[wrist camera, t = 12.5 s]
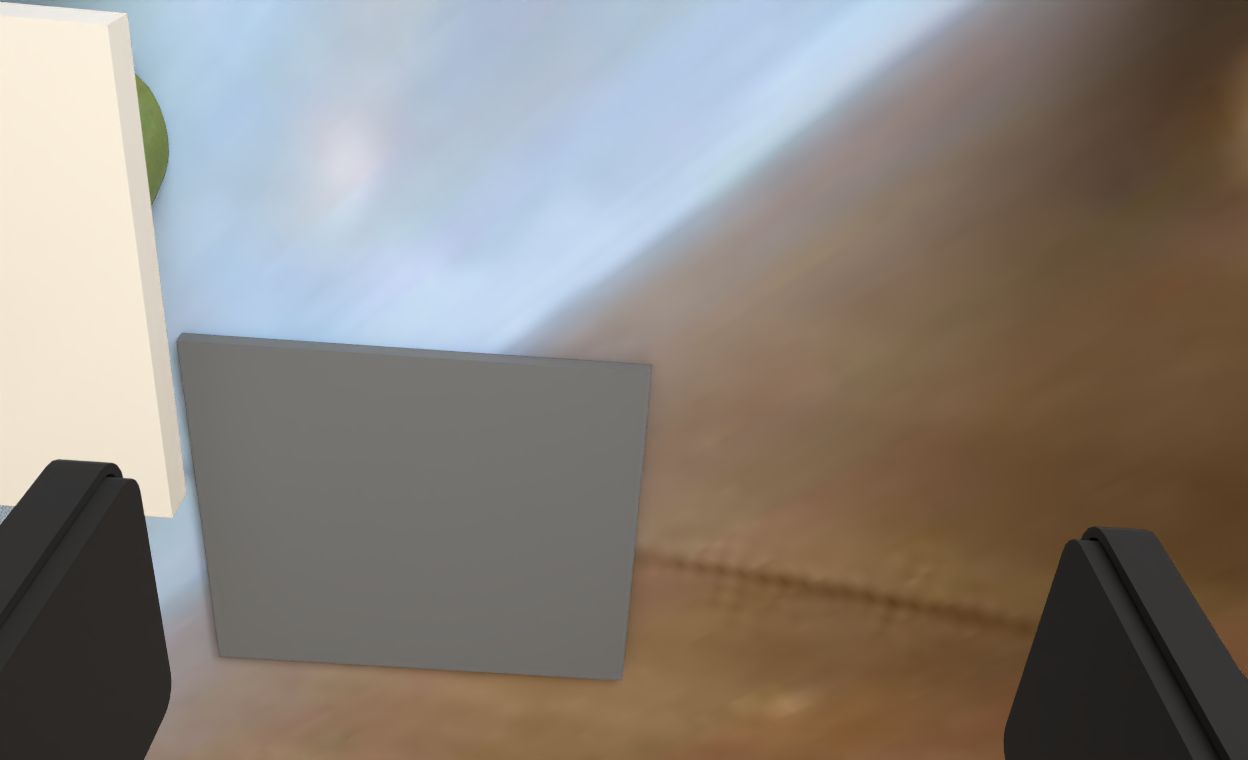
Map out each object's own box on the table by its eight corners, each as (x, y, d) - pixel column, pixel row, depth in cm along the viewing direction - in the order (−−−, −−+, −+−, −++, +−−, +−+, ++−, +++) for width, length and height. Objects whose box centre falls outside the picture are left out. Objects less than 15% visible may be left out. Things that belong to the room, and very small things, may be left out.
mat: (651, 364, 45) (651, 372, 45) (622, 670, 53) (622, 680, 53) (182, 333, 45) (176, 340, 44) (223, 647, 53) (219, 656, 52)
